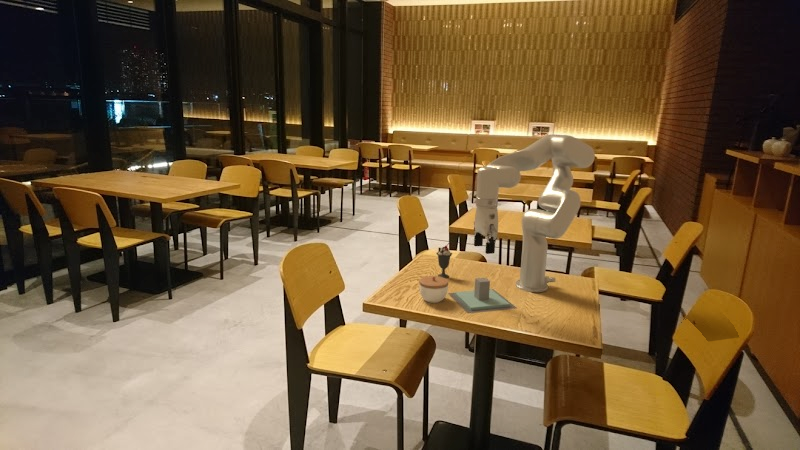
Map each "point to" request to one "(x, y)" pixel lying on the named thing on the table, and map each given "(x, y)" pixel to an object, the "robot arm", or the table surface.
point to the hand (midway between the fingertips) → (483, 249)
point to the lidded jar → (433, 288)
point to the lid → (481, 296)
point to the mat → (480, 309)
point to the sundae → (444, 260)
